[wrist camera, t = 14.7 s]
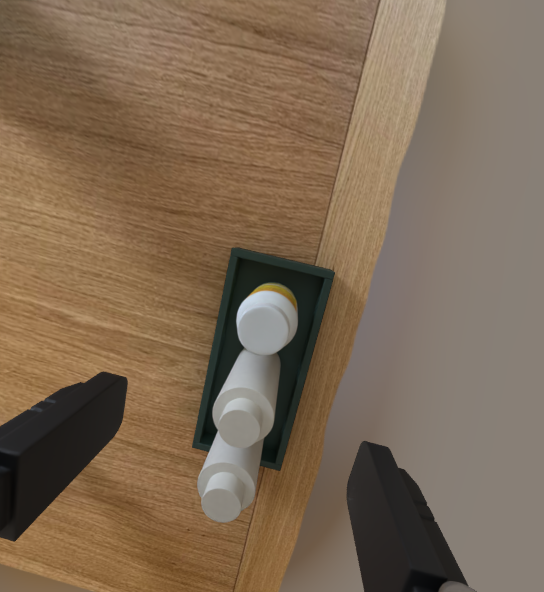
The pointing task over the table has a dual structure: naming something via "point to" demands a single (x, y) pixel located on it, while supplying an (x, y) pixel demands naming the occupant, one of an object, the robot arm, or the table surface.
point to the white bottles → (239, 435)
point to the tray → (294, 356)
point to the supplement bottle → (267, 319)
